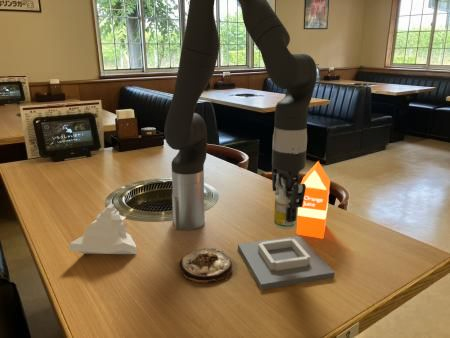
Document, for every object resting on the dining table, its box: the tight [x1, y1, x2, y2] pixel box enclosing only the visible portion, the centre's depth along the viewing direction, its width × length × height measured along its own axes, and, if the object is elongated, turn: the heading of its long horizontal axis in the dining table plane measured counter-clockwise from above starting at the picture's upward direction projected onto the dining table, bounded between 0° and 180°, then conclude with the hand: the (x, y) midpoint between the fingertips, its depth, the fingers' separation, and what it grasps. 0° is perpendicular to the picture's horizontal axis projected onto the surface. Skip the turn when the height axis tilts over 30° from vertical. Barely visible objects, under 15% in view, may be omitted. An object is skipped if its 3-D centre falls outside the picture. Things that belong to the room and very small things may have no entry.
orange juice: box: [295, 161, 331, 239], centre depth 105 cm, size 8×9×20 cm
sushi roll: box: [179, 247, 233, 284], centre depth 89 cm, size 15×15×4 cm
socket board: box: [237, 235, 335, 291], centre depth 91 cm, size 18×18×4 cm
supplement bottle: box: [273, 186, 298, 230], centre depth 87 cm, size 5×5×10 cm
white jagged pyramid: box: [68, 202, 138, 255], centre depth 96 cm, size 12×15×14 cm
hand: (285, 215), depth 88 cm, fingers closed on supplement bottle, 5 cm apart
